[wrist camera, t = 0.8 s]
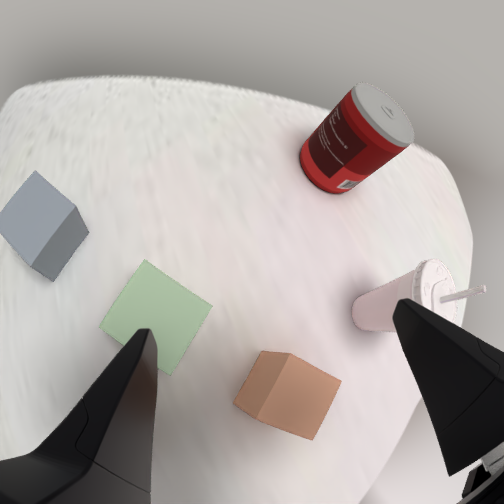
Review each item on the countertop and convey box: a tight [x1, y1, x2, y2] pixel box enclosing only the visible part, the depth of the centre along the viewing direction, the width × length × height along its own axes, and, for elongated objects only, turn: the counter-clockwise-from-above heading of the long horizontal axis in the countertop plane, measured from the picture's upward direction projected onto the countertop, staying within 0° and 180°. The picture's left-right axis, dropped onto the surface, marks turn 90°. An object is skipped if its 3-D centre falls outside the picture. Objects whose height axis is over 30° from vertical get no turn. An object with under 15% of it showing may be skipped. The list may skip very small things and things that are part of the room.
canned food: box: [300, 82, 414, 193], centre depth 26 cm, size 8×8×11 cm
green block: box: [99, 259, 213, 376], centre depth 17 cm, size 5×5×5 cm
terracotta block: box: [233, 351, 342, 440], centre depth 19 cm, size 5×5×5 cm
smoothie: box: [352, 259, 486, 332], centre depth 20 cm, size 6×6×14 cm
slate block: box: [0, 170, 89, 282], centre depth 16 cm, size 5×5×5 cm
